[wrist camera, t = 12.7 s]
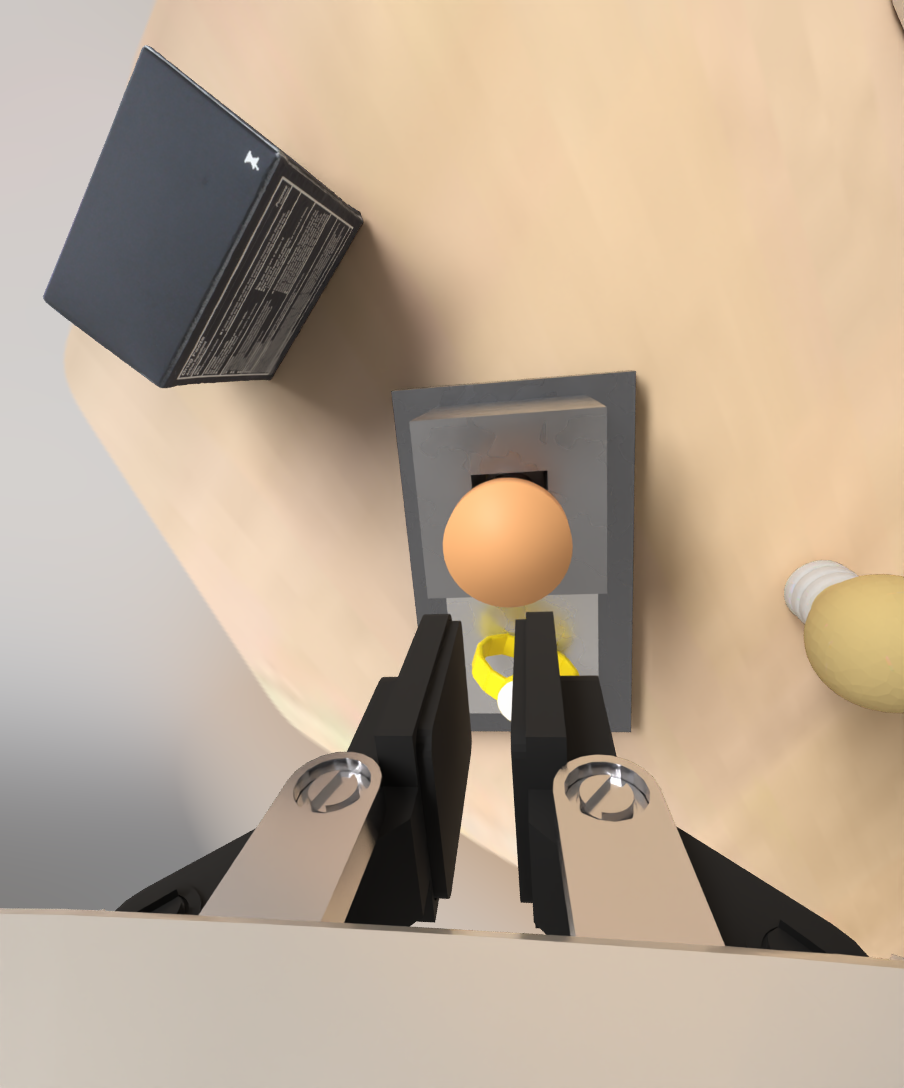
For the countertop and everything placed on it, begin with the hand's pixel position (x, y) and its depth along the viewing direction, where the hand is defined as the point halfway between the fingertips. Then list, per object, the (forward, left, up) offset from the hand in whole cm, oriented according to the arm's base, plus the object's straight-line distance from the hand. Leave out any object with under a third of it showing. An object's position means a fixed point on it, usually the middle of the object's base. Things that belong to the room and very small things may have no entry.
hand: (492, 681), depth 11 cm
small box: (+13, -12, -23) cm, 29 cm away
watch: (0, +11, -22) cm, 24 cm away
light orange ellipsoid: (0, 0, -16) cm, 16 cm away
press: (0, +6, -23) cm, 24 cm away
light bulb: (-17, +8, -23) cm, 30 cm away
